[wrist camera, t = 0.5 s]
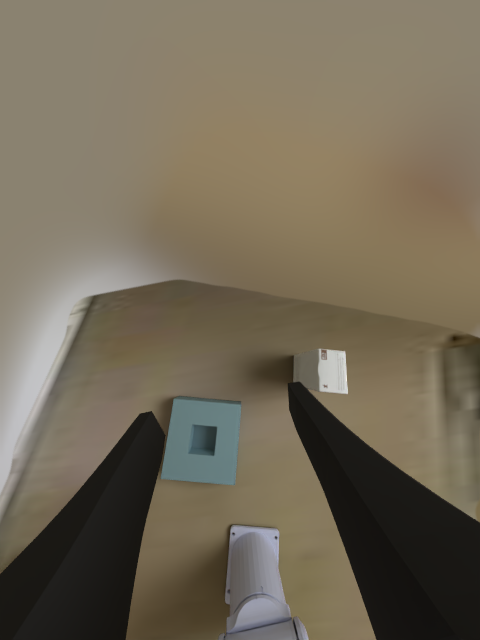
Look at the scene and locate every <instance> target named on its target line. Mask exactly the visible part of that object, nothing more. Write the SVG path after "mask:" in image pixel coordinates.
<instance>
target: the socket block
mask: <svg viewBox="0 0 480 640" xmlns="http://www.w3.org/2000/svg"><path fill="white" fill-rule="evenodd" d="M240 415H241V402H240V401H229V400H217V399H206V398H195V397H184V396H178V397H176V398H174V401H173V407H172V413H171V419H170V425H169V431H168V437H167V443H166V449H165V455H164V461H163V467H162V474H161V479H169V480H180V481H192V482H203V483H215V484H227V485H235V478H236V465H237V453H238V440H239V428H240Z"/></svg>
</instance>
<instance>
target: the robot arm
mask: <svg viewBox="0 0 480 640" xmlns="http://www.w3.org/2000/svg"><path fill="white" fill-rule="evenodd" d="M288 395H289V410H290V413H291V416H292V419H293V422H294V425H295V428H296V430H297V433H298V435H299V437H300V439H301V441H302V444H303V446H304V448H305V450H306V452H307V455H308V457H309V459H310V461H311V463H312V466H313V468H314V470H315V472H316V474H317V477H318V479H319V481H320V483H321V486H322V488H323V491H324V493H325V496H326V498H327V501H328V504H329V506H330V509H331V512H332V514H333V517H334V520H335V522H336V525H337V528H338V531H339V533H340V536H341V539H342V542H343V545H344V547H345V550H346V553H347V556H348V558H349V561H350V564H351V567H352V570H353V573H354V575H355V578H356V581H357V584H358V587H359V590H360V593H361V595H362V598H363V601H364V604H365V607H366V610H367V613H368V616H369V619H370V622H371V625H372V628H373V631H374V634H375V636H376V639H377V640H480V522H478V521H477V520H475V519H473V518H472V517H470V516H469V515H467V514H466V513H464V512H462V511H461V510H459V509H458V508H456V507H455V506H453V505H452V504H450V503H449V502H447V501H446V500H444V499H442V498H441V497H439V496H438V495H437V494H435V493H434V492H432V491H431V490H429V489H428V488H426V487H425V486H423V485H422V484H421V483H419V482H418V481H416V480H415V479H413V478H412V477H410V476H409V475H408V474H406V473H405V472H403V471H402V470H400V469H399V468H398V467H396V466H395V465H394V464H392V463H391V462H390V461H388V460H387V459H386V458H384V457H383V456H382V455H380V454H379V453H378V452H376V451H375V450H374V449H373V448H371V447H370V446H369V445H367V444H366V443H365V442H364V441H363V440H361V439H360V438H359V437H358V436H356V435H355V434H354V433H353V432H352V431H351V430H349V429H348V428H347V427H346V426H345V425H344V424H343V423H341V422H340V421H339V420H338V419H337V418H336V417H335V416H334V415H333V414H332V413H331V412H330V411H328V410H327V409H326V408H325V407H324V406H323V405H322V404H321V403H320V402H319V401H318V400H317V399H316V398H315V397H314V396H313V395H312V394H311V393H310V392H309V391H308V389H307V388H306V387H305V386H304V385H303V384H302V383H301V382H300V381H298V382H293V383H288ZM164 441H165V434H164V432H163V430H162V429H161V427H160V425H159V423H158V422H157V420H156V418H155V416H154V414H153V413H152V411H151V412H146V413H141V414H139V416H138V417H137V418H136V419H135V421H134V422H133V423H132V424H131V426H130V427H129V428H128V430H127V431H126V432H125V434H124V435H123V436H122V438H121V439H120V440H119V441H118V443H117V444H116V445H115V447H114V448H113V449H112V450H111V452H110V453H109V454H108V455H107V457H106V458H105V459H104V461H103V462H102V463H101V464H100V465H99V467H98V468H97V469H96V470H95V471H94V473H93V474H92V475H91V476H90V477H89V479H88V480H87V481H86V482H85V484H84V485H83V486H82V487H81V488H80V490H79V491H78V492H77V493H76V494H75V495H74V497H73V498H72V499H71V500H70V501H69V502H68V503H67V505H66V506H65V507H64V508H63V509H62V510H61V511H60V512H59V513H58V515H57V516H56V517H55V518H54V519H53V520H52V521H51V522H50V523H49V524H48V525H47V527H46V528H45V529H44V530H43V531H42V532H41V533H40V534H39V535H38V536H37V537H36V538H35V539H34V540H33V541H32V542H31V543H30V544H29V545H28V546H27V547H26V548H25V549H24V550H23V552H22V553H21V554H20V555H19V556H18V557H17V558H16V559H15V560H14V561H13V562H12V563H11V564H10V565H9V566H8V567H7V568H6V569H5V570H4V571H3V572H2V573H1V574H0V640H125V639H126V633H127V626H128V619H129V612H130V605H131V599H132V593H133V587H134V581H135V575H136V569H137V563H138V558H139V552H140V547H141V541H142V536H143V531H144V527H145V522H146V518H147V514H148V510H149V507H150V503H151V499H152V495H153V491H154V487H155V484H156V480H157V476H158V472H159V468H160V464H161V460H162V455H163V448H164ZM233 532H234V533H235V534H232V533H233ZM275 536H277V537H276V538H275ZM278 553H279V531H278V529H276V528H264V527H252V526H241V525H232V526H231V530H230V542H229V555H228V567H227V580H226V592H225V602H226V604H230V617H227V625H226V636H225V633H222V634H220V635H219V637H218V640H309V639H308V636H307V632H306V629H305V627H304V625H303V624H302V623H301V621H300V620H299V618H298V617H297V616H296V617H293V622H292V618H291V614H290V609H289V605H288V604H286V602H285V597H284V593H283V588H282V583H281V579H280V574H279V569H278ZM228 589H230V591H228Z"/></svg>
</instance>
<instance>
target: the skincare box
mask: <svg viewBox="0 0 480 640" xmlns="http://www.w3.org/2000/svg"><path fill="white" fill-rule="evenodd" d="M298 381H300V382H301V383H302V384H303V385H304V386H305V387H306V388H307V389H311V390H315V391H318V392H330V393H340V394H348V389H347V374H346V357H345V351H337V350H327V349H315V350H312V351H308V352H304V353H301V354H297V355H294V373H293V382H298Z"/></svg>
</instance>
